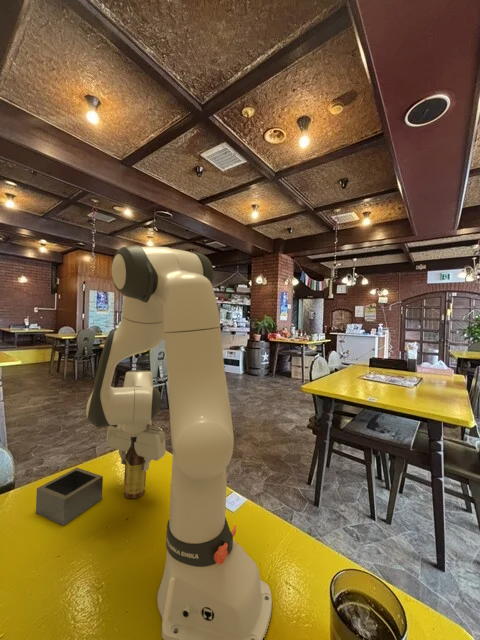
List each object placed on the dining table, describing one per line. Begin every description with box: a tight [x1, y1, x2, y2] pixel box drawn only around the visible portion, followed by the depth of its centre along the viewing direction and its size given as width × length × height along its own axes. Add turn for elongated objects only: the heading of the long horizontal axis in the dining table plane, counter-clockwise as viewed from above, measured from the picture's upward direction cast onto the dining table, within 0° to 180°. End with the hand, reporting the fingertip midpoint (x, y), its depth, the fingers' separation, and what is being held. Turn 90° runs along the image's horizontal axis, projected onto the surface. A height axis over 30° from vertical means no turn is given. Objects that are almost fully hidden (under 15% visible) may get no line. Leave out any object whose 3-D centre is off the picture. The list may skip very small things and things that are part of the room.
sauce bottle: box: [123, 437, 147, 499], centre depth 86 cm, size 6×6×20 cm
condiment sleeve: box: [35, 467, 104, 527], centre depth 80 cm, size 11×12×7 cm
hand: (134, 466), depth 86 cm, fingers open, 6 cm apart
